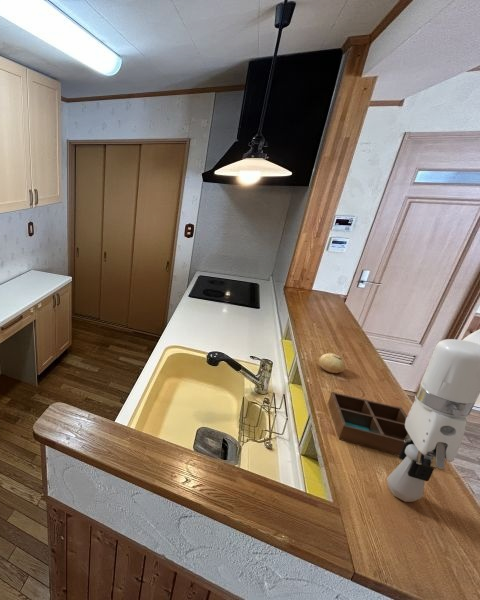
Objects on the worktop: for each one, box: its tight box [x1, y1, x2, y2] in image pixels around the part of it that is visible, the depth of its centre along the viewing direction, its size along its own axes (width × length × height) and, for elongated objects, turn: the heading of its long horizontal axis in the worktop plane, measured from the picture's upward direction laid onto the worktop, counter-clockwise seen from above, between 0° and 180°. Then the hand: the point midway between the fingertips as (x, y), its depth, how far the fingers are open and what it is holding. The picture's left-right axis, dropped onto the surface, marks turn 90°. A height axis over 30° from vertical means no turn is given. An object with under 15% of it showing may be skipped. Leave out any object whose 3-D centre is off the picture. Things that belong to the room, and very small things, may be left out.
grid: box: [327, 391, 408, 457], centre depth 92 cm, size 17×17×5 cm
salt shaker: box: [386, 444, 432, 503], centre depth 71 cm, size 6×6×13 cm
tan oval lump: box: [317, 352, 346, 374], centre depth 121 cm, size 8×8×7 cm
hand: (412, 468), depth 71 cm, fingers closed on salt shaker, 4 cm apart
